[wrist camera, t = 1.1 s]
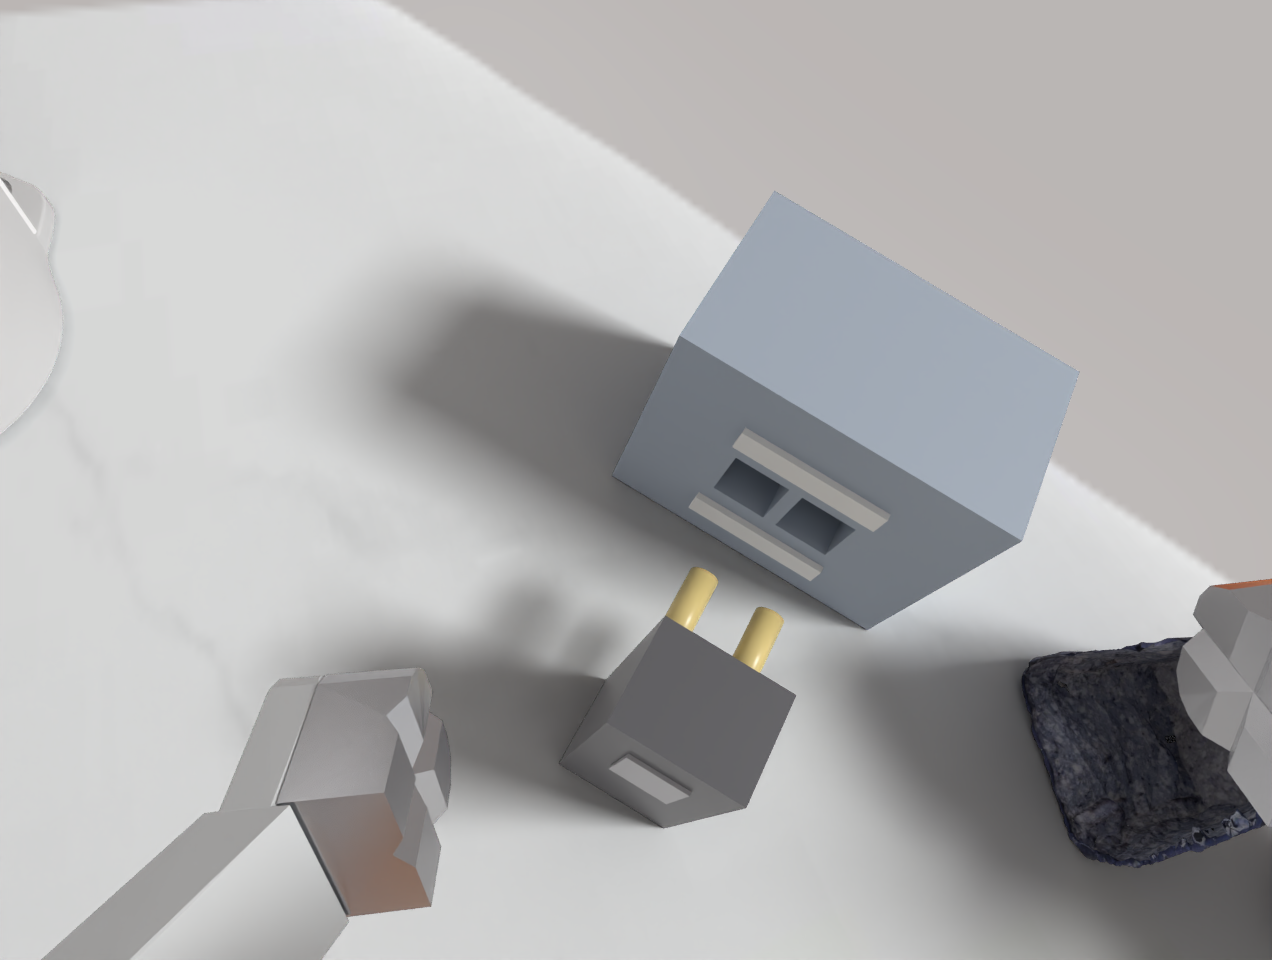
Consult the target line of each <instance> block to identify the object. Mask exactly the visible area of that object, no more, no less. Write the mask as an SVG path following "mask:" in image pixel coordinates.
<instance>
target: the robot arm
mask: <svg viewBox="0 0 1272 960" xmlns="http://www.w3.org/2000/svg"><path fill="white" fill-rule="evenodd" d="M54 226H55V212H54V209H53V207H52V205H51V203H50V202H49V201H48V199H47V198H46V197H45V195H44V194H43V192H42V191H41V190H40V189H38V188H37V187H36V186H34V185H32V184H30V183H27V182H25V181H22V180H20V179H17V178H14V177H12V176H9V175H7V174H4V173H2V172H0V434H1V433H3V432H4V431H5V430H6V429H7V428H8V427H10V426H11V425H12V424H13V423H14V422H15V421H16V420H17V419H18V418H19V417H20V416H21V415H22V414H23V413H24V412H25V410H26V409H27V408H28V407H29V406H30V405H31V403H32V402H33V401H34V400H35V398H36V397H37V396H38V394H39V393H40V391H41V390H42V388H43V387H44V385H45V383H46V381H47V380H48V378H49V376H50V374H51V372H52V370H53V367H54V365H55V362H56V360H57V357H58V354H59V350H60V346H61V341H62V335H63V310H62V304H61V299H60V295H59V292H58V289H57V286H56V283H55V280H54V278H53V275H52V272H51V269H50V265H49V259H48V253H49V249H50V245H51V241H52V237H53V232H54ZM1193 615H1194V617H1195V618H1196V620H1197V621H1198V623H1199V624H1200V625H1201V627H1202V628H1203V629H1202V630H1201V631H1200V632H1198V633H1197V634H1196V635H1195V636H1194V637H1193V638H1192V639H1190V640H1189V641H1188V642H1187V643H1186V644H1185V645H1183V647H1182V651H1181V654H1180V658H1179V662H1178V666H1177V669H1176V671H1177V678H1178V686H1179V694H1180V697H1181V699H1182V702H1183V704H1184V706H1185V709H1186V711H1187V713H1188V715H1189V717H1190V718H1191V720H1192V721H1193V723H1194V724H1195V726H1196V727H1197V729H1198V730H1199V732H1200V733H1201V734H1202V735H1203V736H1205V737H1206V738H1208V739H1210V740H1212V741H1213V742H1215V743H1217V744H1218V745H1220V746H1222V747H1224V748H1225V749H1227V750H1229V751H1230V753H1229V760H1228V768H1227V771H1228V772H1229V774H1230V775H1231V777H1232V778H1233V779H1234V781H1235V782H1236V784H1237V785H1238V786H1239V788H1240V789H1241V791H1242V792H1243V793H1244V795H1245V796H1246V797H1247V799H1248V800H1249V802H1250V803H1251V804H1252V806H1253V807H1254V809H1255V810H1256V811H1257V813H1258V814H1259V816H1260V817H1261V818H1262V820H1263V821H1264V822H1265V824H1266V825H1267V827H1272V579H1266V580H1258V581H1248V582H1239V583H1230V584H1221V585H1213V586H1210V587H1208V588H1207V589H1206V590H1205V591H1204V592H1203V593H1202V594H1201V595H1200V596H1199V599H1198V602H1197V605H1196V608H1195V610H1194V613H1193ZM432 694H433V691H432V688H431V686H430V683H429V680H428V678H427V675H426V672H425V670H423V669H420V668H418V667H416V668H403V669H391V670H378V671H365V672H352V673H339V674H327V675H326V676H314V677H300V678H286V679H279V680H278V681H277V682H276V683H275V684H274V685H273V686H272V687H271V688H270V689H269V691H268V693H267V695H266V698H265V700H264V703H263V705H262V707H261V710H260V712H259V715H258V717H257V720H256V722H255V724H254V727H253V729H252V732H251V734H250V737H249V739H248V742H247V744H246V746H245V749H244V751H243V754H242V756H241V759H240V761H239V764H238V766H237V768H236V771H235V773H234V776H233V778H232V781H231V783H230V786H229V788H228V790H227V793H226V795H225V798H224V800H223V803H222V805H221V808H220V810H219V811H218V812H210V813H204V814H203V815H202V816H201V817H199V818H198V819H197V820H196V821H195V822H194V823H193V824H192V825H191V826H189V827H188V828H187V829H186V830H185V831H184V832H183V833H182V834H181V835H179V836H178V837H177V838H176V839H175V840H174V841H173V842H172V843H171V844H169V845H168V846H167V847H166V848H165V849H164V850H163V851H162V852H160V853H159V854H158V855H157V856H156V857H155V858H154V859H153V860H152V861H150V862H149V863H148V864H147V865H146V866H145V867H144V868H143V869H142V870H140V871H139V872H138V873H137V874H136V875H135V876H134V877H133V878H132V879H130V880H129V881H128V882H127V883H126V884H125V885H124V886H123V887H122V888H120V889H119V890H118V891H117V892H116V893H115V894H114V895H113V896H112V897H110V898H109V899H108V900H107V901H106V902H105V903H104V904H103V905H101V906H100V907H99V908H98V909H97V910H96V911H95V912H94V913H93V914H91V915H90V916H89V917H88V918H87V919H86V920H85V921H84V922H83V923H81V924H80V925H79V926H78V927H77V928H76V929H75V930H74V931H73V932H71V933H70V934H69V935H68V936H67V937H66V938H65V939H64V940H63V941H61V942H60V943H59V944H58V945H57V946H56V947H55V948H54V949H53V950H51V951H50V952H49V953H48V954H47V955H46V956H45V957H44V958H42V959H41V960H322V958H323V957H324V955H325V954H326V953H327V951H328V950H329V949H330V947H331V946H332V944H333V943H334V942H335V940H336V939H337V938H338V936H339V935H340V934H341V932H342V931H343V929H344V928H345V927H346V925H347V924H348V923H349V920H348V918H347V917H350V916H358V915H366V914H375V913H383V912H391V911H399V910H407V909H415V908H423V907H431V905H432V899H433V893H434V887H435V881H436V875H437V869H438V863H439V857H440V851H441V845H440V842H439V839H438V836H437V834H436V831H435V828H434V825H433V824H434V823H435V822H436V821H437V820H438V819H439V818H440V816H441V815H442V814H443V813H444V812H445V811H446V810H447V807H448V800H449V793H450V786H451V756H450V749H449V743H448V737H447V734H446V730H445V727H444V724H443V721H442V720H441V719H439V718H438V717H436V716H435V715H433V714H432V713H431V712H429V710H430V704H431V699H432Z"/></svg>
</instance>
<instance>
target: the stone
mask: <svg viewBox="0 0 1272 960" xmlns="http://www.w3.org/2000/svg"><path fill="white" fill-rule="evenodd" d="M1192 638H1193V637H1187V638H1167V639H1164V640H1162V641H1159V642H1156V643H1145V642H1141V643H1139V644H1137V645H1133V646H1126V647H1124V648H1122V649H1117V650H1114V649H1113V650H1101V651H1097V650H1095V651H1087V652H1070V651H1069V652H1059V653H1056V654H1052V655H1047V656H1043V657H1036V658H1034V659H1032V660H1031V661H1030V662H1029V667H1028V668H1026V670H1025V671H1024V673H1023V676H1022V688H1023V692H1024V697H1025V699H1026V704H1027V708H1028V711H1029V712H1030V714H1031V716H1032V732H1033V735H1034V738H1035V739H1034V740H1036V742H1037V744H1038V747H1039V748H1040V749H1042V751H1041V752H1042V754H1043V755H1044V758H1045V759H1044V762H1045V765H1046V768H1047V770H1048V771H1049V774H1050V777H1051V781H1052V785H1053V789H1054V792H1055V795H1056V797H1057V799H1058V802H1059V804H1060V809H1061V811H1062V813H1063V815H1065V817H1064V822H1065V825H1066V826H1067V828H1068V832H1069V834H1068V835H1069V837H1070V839H1071V840H1072V841H1073V842H1074V843H1075V844H1076V846H1077V847H1078V848H1079V850H1080V851H1081V852H1082V853H1083V854H1084V855H1085V856H1086V857H1087V858H1089V859H1092V860H1096V859H1097V860H1099V861H1100V862H1108V863H1109V864H1114V865H1115V866H1121V865H1128V867H1130V866H1132V867H1134V868H1140V867H1141V866H1142V865H1147V864H1150V865H1151V864H1153V863H1155V862H1161V861H1163V860H1165V859H1168V858H1170V857H1173V856H1175V855H1178V854H1181V853H1183V852H1187V851H1189V850H1191V851H1195V852H1201V851H1203V850H1204V849H1206V848H1209V847H1210V846H1214V845H1217V844H1218V843H1220V842H1223V841H1226V840H1229V839H1230V838H1232V837H1234V836H1238V835H1240V834H1242V833H1246V832H1247V831H1249V830H1252V829H1256V828H1260V827H1262V826H1264V825H1266V824H1265V822H1264V821H1263V820H1262V818H1261V817H1260V816H1259V814H1258V813H1257V811H1256V810H1255V809H1254V807H1253V806H1252V804H1251V803H1250V802H1249V800H1248V799H1247V797H1246V796H1245V795H1244V793H1243V792H1242V791H1241V789H1240V788H1239V786H1238V785H1237V784H1236V782H1235V781H1234V779H1233V778H1232V777H1231V775H1230V774H1229V772H1228V771H1227V768H1228V760H1229V753H1230V751H1229V750H1227V749H1225V748H1224V747H1222V746H1220V745H1218V744H1217V743H1215V742H1213V741H1212V740H1210V739H1208V738H1206V737H1205V736H1203V735H1202V734H1201V733H1200V732H1199V730H1198V729H1197V727H1196V726H1195V724H1194V723H1193V721H1192V720H1191V718H1190V717H1189V715H1188V713H1187V711H1186V709H1185V706H1184V704H1183V702H1182V699H1181V697H1180V694H1179V686H1178V678H1177V671H1176V669H1177V666H1178V662H1179V658H1180V654H1181V651H1182V647H1183V645H1185V644H1186V643H1187V642H1188V641H1189V640H1190V639H1192ZM1059 681H1060V682H1061V683H1064V684H1067V686H1068V689H1069V692H1070V693H1069V692H1068V690H1067V689H1066V687H1062V688H1061V687H1060V686H1059V685H1058V684H1057V683H1058V682H1059ZM1170 735H1175V736H1176V740H1177V741H1175V742H1172V743H1168V742H1167V741H1166V740H1165V736H1170ZM1072 820H1073V821H1072ZM1127 825H1129V826H1127ZM1096 836H1097V838H1096ZM1095 840H1096V843H1095Z"/></svg>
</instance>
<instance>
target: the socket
mask: <svg viewBox="0 0 1272 960" xmlns="http://www.w3.org/2000/svg"><path fill="white" fill-rule="evenodd" d="M1078 375H1079V371H1077V370H1076V369H1074V368H1072V367H1070V366H1069V365H1067V364H1065V363H1064V362H1062V361H1060V360H1059V359H1057V358H1055V357H1054V356H1052V355H1050V354H1049V353H1047V352H1045V351H1044V350H1042V349H1040V348H1039V347H1037V346H1035V345H1033V344H1032V343H1030V342H1028V341H1027V340H1025V339H1023V338H1022V337H1020V336H1018V335H1017V334H1015V333H1013V332H1012V331H1010V330H1008V329H1007V328H1005V327H1003V326H1001V325H1000V324H998V323H996V322H995V321H993V320H991V319H990V318H988V317H986V316H985V315H983V314H981V313H980V312H978V311H976V310H975V309H973V308H971V307H969V306H968V305H966V304H964V303H963V302H961V301H959V300H958V299H956V298H954V297H953V296H951V295H949V294H948V293H946V292H944V291H942V290H941V289H939V288H937V287H936V286H934V285H932V284H931V283H929V282H927V281H926V280H924V279H922V278H921V277H919V276H917V275H916V274H914V273H912V272H911V271H909V270H907V269H905V268H904V267H902V266H900V265H899V264H897V263H895V262H894V261H892V260H890V259H889V258H886V257H885V256H884V255H882V254H880V253H878V252H877V251H875V250H873V249H872V248H870V247H868V246H867V245H865V244H863V243H862V242H860V241H858V240H857V239H855V238H853V237H852V236H850V235H848V234H847V233H845V232H843V231H841V230H840V229H838V228H836V227H835V226H833V225H831V224H829V223H828V222H826V221H825V220H823V219H821V218H820V217H818V216H816V215H815V214H813V213H811V212H809V211H807V210H806V209H804V208H803V207H801V206H799V205H798V204H796V203H794V202H792V201H791V200H789V199H788V198H786V197H784V196H783V195H781V194H779V193H777V192H776V191H774V192H773V194H772V196H771V197H770V198H769V200H768V201H767V203H766V205H765V206H764V208H763V209H762V211H761V212H760V214H759V215H758V217H757V218H756V220H755V221H754V223H753V225H752V226H751V227H750V229H749V230H748V232H747V233H746V235H745V237H744V238H743V240H742V241H741V243H740V244H739V246H738V247H737V249H736V250H735V252H734V253H733V255H732V256H731V258H730V259H729V261H728V262H727V264H726V265H725V267H724V268H723V270H722V272H721V273H720V275H719V276H718V278H717V279H716V281H715V282H714V284H713V285H712V287H711V288H710V290H709V291H708V293H707V294H706V296H705V297H704V299H703V300H702V302H701V304H700V305H699V307H698V308H697V310H696V311H695V313H694V314H693V316H692V317H691V319H690V320H689V322H688V323H687V325H686V326H685V328H684V329H683V331H682V332H681V334H680V336H679V338H678V340H677V342H676V344H675V346H674V348H673V350H672V352H671V354H670V356H669V358H668V360H667V362H666V364H665V367H664V369H663V371H662V373H661V375H660V377H659V379H658V381H657V383H656V385H655V387H654V389H653V391H652V393H651V395H650V398H649V400H648V402H647V404H646V406H645V408H644V410H643V412H642V414H641V416H640V418H639V420H638V422H637V424H636V427H635V429H634V431H633V433H632V435H631V437H630V439H629V441H628V443H627V445H626V447H625V449H624V451H623V453H622V455H621V458H620V460H619V462H618V464H617V466H616V468H615V470H614V472H613V474H612V476H613V477H615V478H617V479H618V480H620V481H622V482H623V483H625V484H627V485H628V486H630V487H632V488H633V489H635V490H637V491H638V492H640V493H642V494H643V495H645V496H646V497H648V498H650V499H651V500H653V501H655V502H656V503H658V504H660V505H661V506H663V507H665V508H666V509H668V510H670V511H671V512H673V513H675V514H676V515H678V516H680V517H681V518H683V519H684V520H686V521H688V522H689V523H691V524H693V525H694V526H696V527H698V528H699V529H701V530H703V531H704V532H706V533H708V534H709V535H711V536H713V537H714V538H716V539H718V540H719V541H721V542H723V543H724V544H726V545H727V546H729V547H731V548H732V549H734V550H736V551H737V552H739V553H741V554H742V555H744V556H746V557H747V558H749V559H751V560H752V561H754V562H756V563H757V564H759V565H761V566H762V567H764V568H765V569H767V570H769V571H770V572H772V573H774V574H775V575H777V576H779V577H780V578H782V579H784V580H785V581H787V582H789V583H790V584H792V585H794V586H795V587H797V588H799V589H800V590H802V591H804V592H805V593H807V594H808V595H810V596H812V597H813V598H815V599H817V600H818V601H820V602H822V603H823V604H825V605H827V606H828V607H830V608H832V609H833V610H835V611H837V612H838V613H840V614H842V615H843V616H845V617H846V618H848V619H850V620H851V621H853V622H855V623H856V624H858V625H860V626H861V627H863V628H865V629H866V630H868V629H870V628H871V627H873V626H875V625H877V624H878V623H880V622H882V621H884V620H885V619H887V618H889V617H891V616H892V615H894V614H896V613H898V612H899V611H901V610H903V609H905V608H906V607H908V606H910V605H912V604H913V603H915V602H917V601H918V600H920V599H922V598H924V597H925V596H927V595H929V594H931V593H932V592H934V591H936V590H938V589H939V588H941V587H943V586H945V585H946V584H948V583H950V582H952V581H953V580H955V579H957V578H959V577H960V576H962V575H964V574H966V573H967V572H969V571H971V570H972V569H974V568H976V567H978V566H979V565H981V564H983V563H985V562H986V561H988V560H990V559H992V558H993V557H995V556H997V555H999V554H1000V553H1002V552H1004V551H1006V550H1007V549H1009V548H1011V547H1013V546H1014V545H1016V544H1018V543H1020V542H1021V541H1022V540H1023V537H1024V534H1025V531H1026V528H1027V525H1028V522H1029V519H1030V516H1031V514H1032V511H1033V508H1034V505H1035V502H1036V499H1037V496H1038V493H1039V490H1040V487H1041V484H1042V481H1043V478H1044V475H1045V472H1046V469H1047V466H1048V464H1049V461H1050V458H1051V455H1052V452H1053V448H1054V446H1055V443H1056V440H1057V437H1058V434H1059V431H1060V428H1061V425H1062V422H1063V419H1064V416H1065V414H1066V411H1067V407H1068V405H1069V402H1070V399H1071V396H1072V393H1073V390H1074V387H1075V384H1076V381H1077V378H1078Z"/></svg>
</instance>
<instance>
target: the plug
mask: <svg viewBox="0 0 1272 960" xmlns="http://www.w3.org/2000/svg"><path fill="white" fill-rule="evenodd" d="M717 584H718V580H717V578H716V577H715V576H714V575H713V574H712V573H710V572H709V571H707V570H705V569H702V568H699V567H693V568H691V570H690V571H689V573H688V575H687V577H686V579H685V580H684V582H683V584H682V586H681V588H680V590H679V591H678V593H677V595H676V597H675V599H674V600H673V602H672V604H671V606H670V608H669V610H668V611H667V613H666V615H665V617H664V618H663V619H662V620H661V621H660V622H659V623H658V624H657V625H656V626H655V627H654V628H653V630H652V631H651V632H650V633H649V634H648V635H647V636H646V637H645V638H644V639H643V640H642V641H641V643H640V644H639V645H638V646H637V647H636V648H635V649H634V650H633V651H632V652H631V653H630V654H629V655H628V657H627V658H626V659H625V660H624V661H623V662H622V663H621V664H620V665H619V666H618V667H617V668H616V670H615V671H614V672H613V673H612V674H611V675H610V676H609V677H608V678H607V679H606V681H605V683H604V684H603V686H602V688H601V690H600V691H599V693H598V695H597V697H596V699H595V700H594V702H593V704H592V706H591V707H590V709H589V711H588V713H587V715H586V716H585V718H584V720H583V722H582V723H581V725H580V727H579V729H578V730H577V732H576V734H575V736H574V738H573V739H572V741H571V743H570V745H569V746H568V748H567V750H566V752H565V754H564V755H563V757H562V759H561V761H560V762H559V764H560V765H562V766H563V767H565V768H567V769H568V770H570V771H571V772H573V773H575V774H576V775H578V776H580V777H581V778H583V779H584V780H586V781H588V782H589V783H591V784H593V785H594V786H596V787H597V788H599V789H601V790H602V791H604V792H606V793H607V794H609V795H610V796H612V797H614V798H615V799H617V800H619V801H620V802H622V803H623V804H625V805H627V806H628V807H630V808H632V809H633V810H635V811H637V812H638V813H640V814H641V815H643V816H645V817H646V818H648V819H650V820H651V821H653V822H654V823H656V824H658V825H659V826H661V827H663V828H668V827H672V826H676V825H680V824H684V823H688V822H692V821H696V820H700V819H704V818H708V817H712V816H716V815H720V814H724V813H728V812H732V811H736V810H740V809H744V808H746V807H747V805H748V803H749V800H750V798H751V796H752V794H753V791H754V789H755V787H756V785H757V782H758V780H759V778H760V776H761V773H762V771H763V769H764V767H765V764H766V762H767V760H768V758H769V755H770V753H771V751H772V749H773V746H774V744H775V742H776V740H777V737H778V735H779V733H780V731H781V728H782V726H783V724H784V722H785V719H786V717H787V715H788V713H789V710H790V708H791V706H792V704H793V701H794V699H795V697H796V695H795V694H794V693H792V692H790V691H789V690H787V689H785V688H784V687H782V686H780V685H779V684H777V683H775V682H774V681H772V680H771V679H769V678H767V677H766V676H764V675H762V674H761V673H760V672H761V670H762V668H763V666H764V664H765V662H766V659H767V657H768V655H769V653H770V651H771V649H772V647H773V645H774V643H775V640H776V638H777V636H778V634H779V632H780V630H781V628H782V626H783V623H784V620H783V618H782V617H781V616H780V615H779V614H778V613H776V612H775V611H773V610H771V609H768V608H764V607H758V608H756V610H755V612H754V614H753V616H752V618H751V620H750V622H749V624H748V626H747V628H746V630H745V632H744V634H743V636H742V638H741V640H740V642H739V644H738V646H737V648H736V650H735V652H734V654H733V656H731V655H729V654H728V653H726V652H725V651H723V650H721V649H720V648H718V647H716V646H715V645H713V644H711V643H710V642H708V641H706V640H705V639H703V638H701V637H700V636H698V635H697V634H695V633H693V630H694V628H695V626H696V624H697V622H698V620H699V618H700V616H701V615H702V613H703V611H704V609H705V607H706V605H707V603H708V601H709V599H710V597H711V596H712V594H713V592H714V590H715V588H716V586H717Z"/></svg>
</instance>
